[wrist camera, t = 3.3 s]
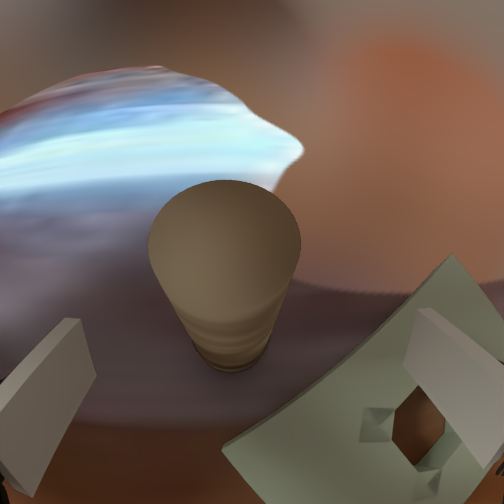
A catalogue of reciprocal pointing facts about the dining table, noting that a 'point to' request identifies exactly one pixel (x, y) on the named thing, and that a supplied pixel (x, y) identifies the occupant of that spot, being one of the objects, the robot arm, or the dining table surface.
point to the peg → (225, 267)
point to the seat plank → (370, 416)
